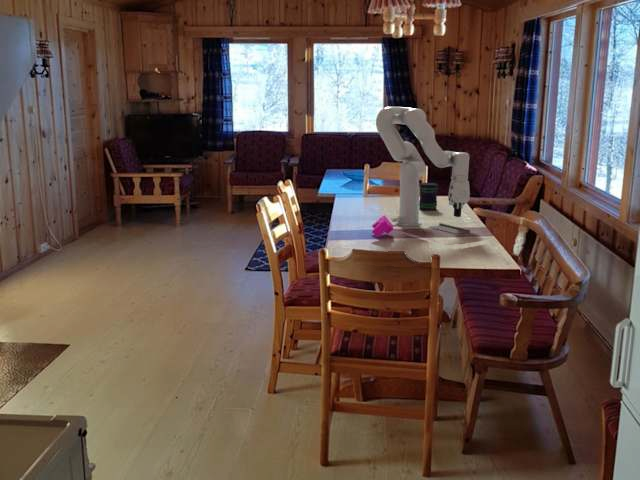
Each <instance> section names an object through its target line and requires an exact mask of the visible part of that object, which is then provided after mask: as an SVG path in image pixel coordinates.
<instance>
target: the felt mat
mask: <svg viewBox="0 0 640 480" xmlns="http://www.w3.org/2000/svg"><path fill="white" fill-rule="evenodd" d="M428 228H429V229H433V230H439V231H442V232H445V233H449V234H450V233H451V234H454V235H457V234H464V233H467V232H465V231H461V230H457V229H453V228H448V227H444V226H440V225H439V224H438V225H433V226H429V227H428Z"/></svg>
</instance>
